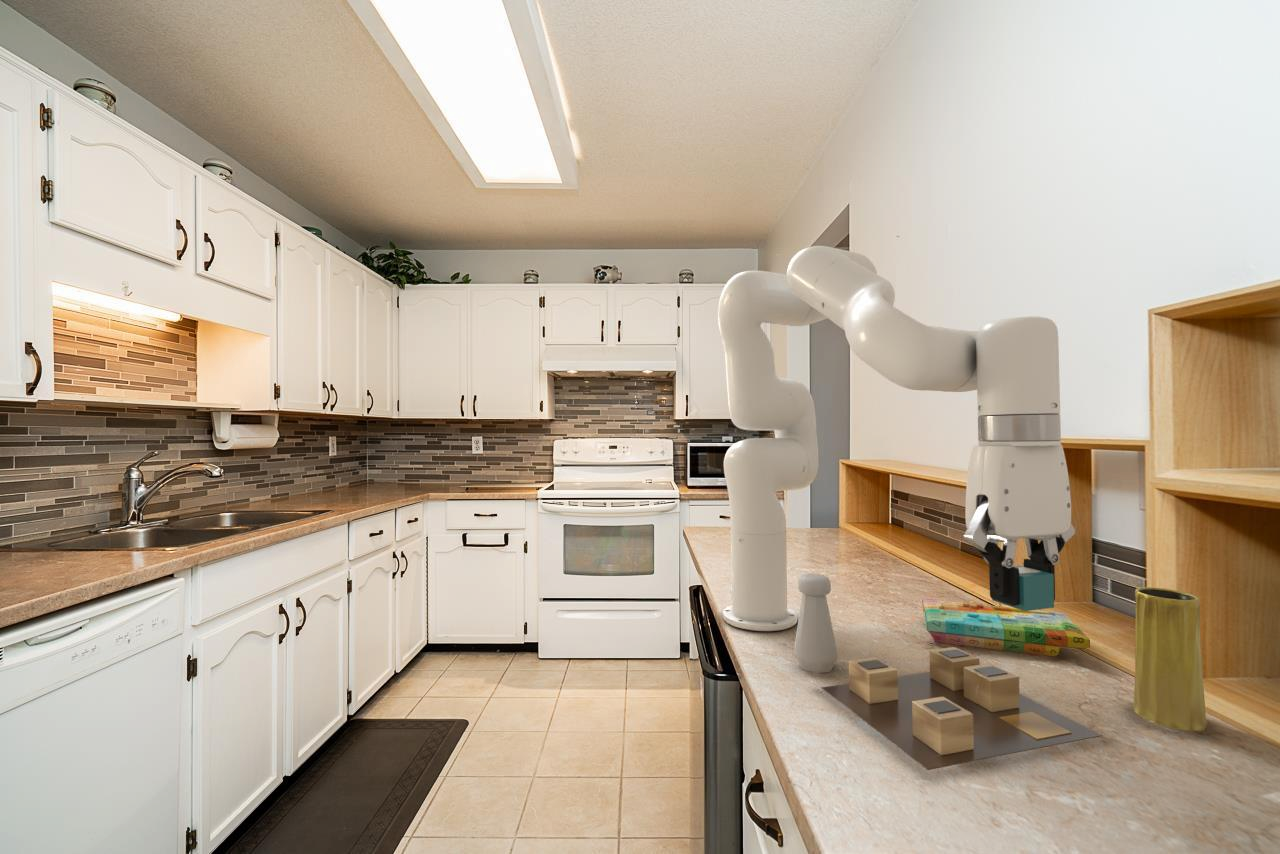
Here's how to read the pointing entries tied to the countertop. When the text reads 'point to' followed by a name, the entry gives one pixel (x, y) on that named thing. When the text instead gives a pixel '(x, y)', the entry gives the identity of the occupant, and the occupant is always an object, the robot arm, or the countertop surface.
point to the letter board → (990, 729)
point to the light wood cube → (873, 680)
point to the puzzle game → (1001, 627)
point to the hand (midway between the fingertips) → (1022, 598)
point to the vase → (1168, 659)
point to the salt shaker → (815, 626)
